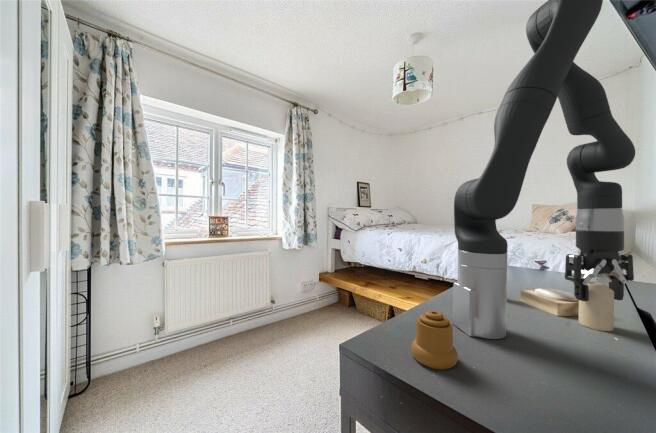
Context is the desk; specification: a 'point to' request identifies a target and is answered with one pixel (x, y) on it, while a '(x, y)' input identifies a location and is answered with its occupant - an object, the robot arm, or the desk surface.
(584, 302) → the candle
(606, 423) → the desk surface
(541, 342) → the desk surface
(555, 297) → the candle stand
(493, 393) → the desk surface
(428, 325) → the ornamental finial
